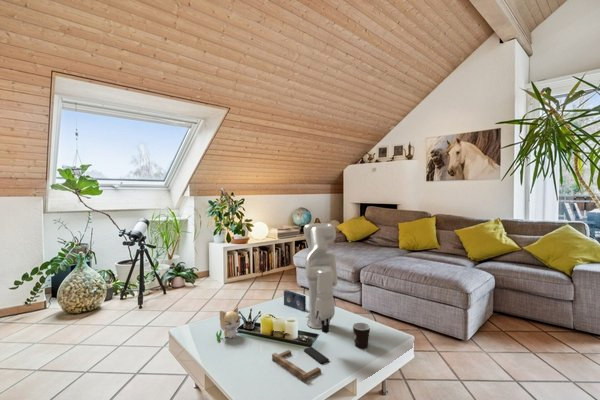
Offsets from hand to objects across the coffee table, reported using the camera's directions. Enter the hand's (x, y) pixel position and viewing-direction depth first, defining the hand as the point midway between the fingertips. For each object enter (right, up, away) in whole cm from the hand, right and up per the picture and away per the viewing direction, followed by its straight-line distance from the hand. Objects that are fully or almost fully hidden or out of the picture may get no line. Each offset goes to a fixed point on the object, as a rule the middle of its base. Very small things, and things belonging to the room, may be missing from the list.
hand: (325, 332), depth 151 cm
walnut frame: (-14, -10, -11) cm, 21 cm away
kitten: (-51, -10, +17) cm, 55 cm away
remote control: (-5, -11, -4) cm, 12 cm away
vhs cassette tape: (-16, -8, +57) cm, 60 cm away
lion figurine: (-26, -10, +22) cm, 35 cm away
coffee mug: (+19, -10, +7) cm, 23 cm away
